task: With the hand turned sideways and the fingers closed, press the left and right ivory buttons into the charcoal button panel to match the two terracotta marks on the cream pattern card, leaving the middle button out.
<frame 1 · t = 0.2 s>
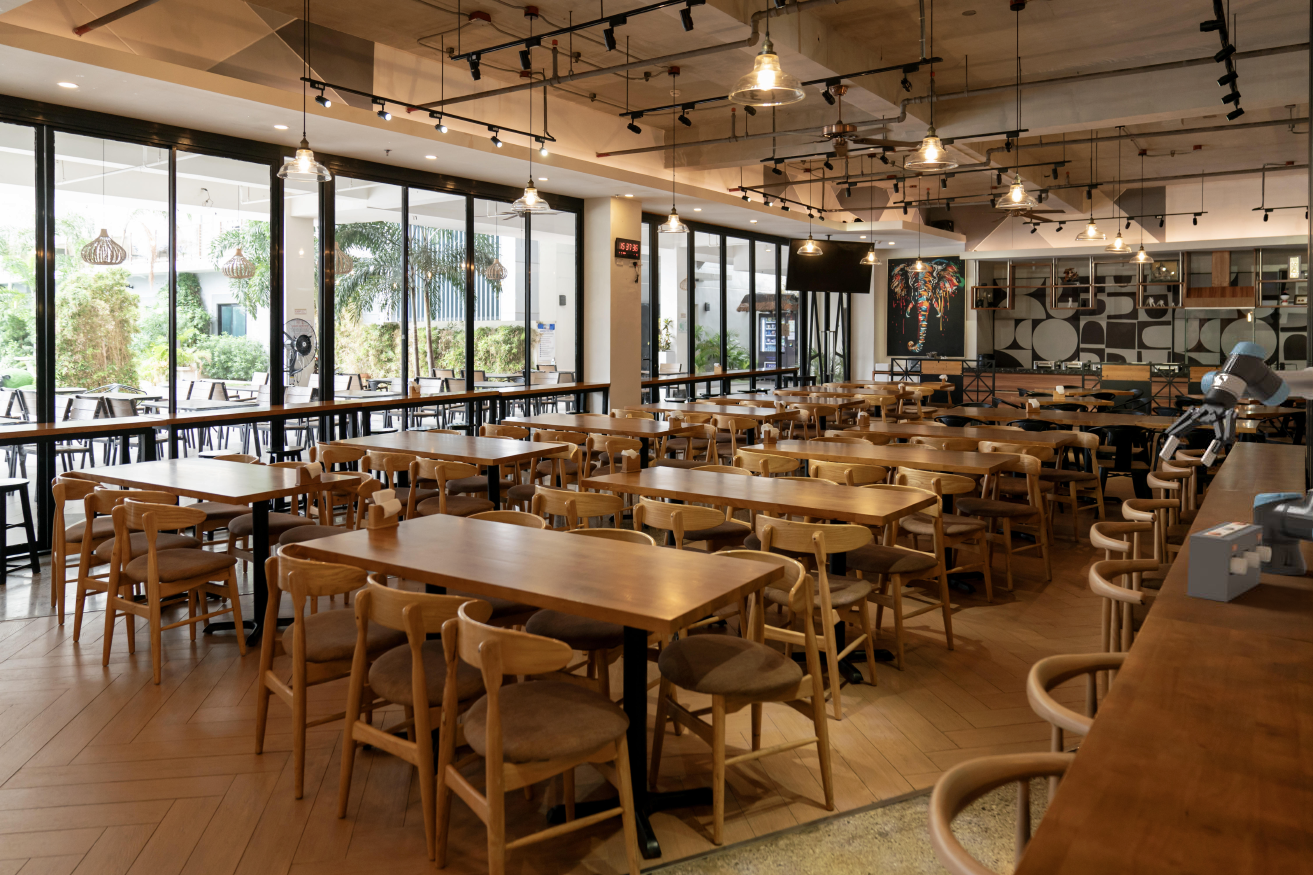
hand: (1183, 460, 238), 35 cm above the table, fingers open, 13 cm apart
button left: (1257, 553, 245), point 9 cm above the table, slide at 0.0 cm
button right: (1232, 564, 230), point 9 cm above the table, slide at 0.0 cm
button panel: (1235, 590, 240), on the table
button middle: (1245, 558, 238), point 9 cm above the table, slide at 0.0 cm
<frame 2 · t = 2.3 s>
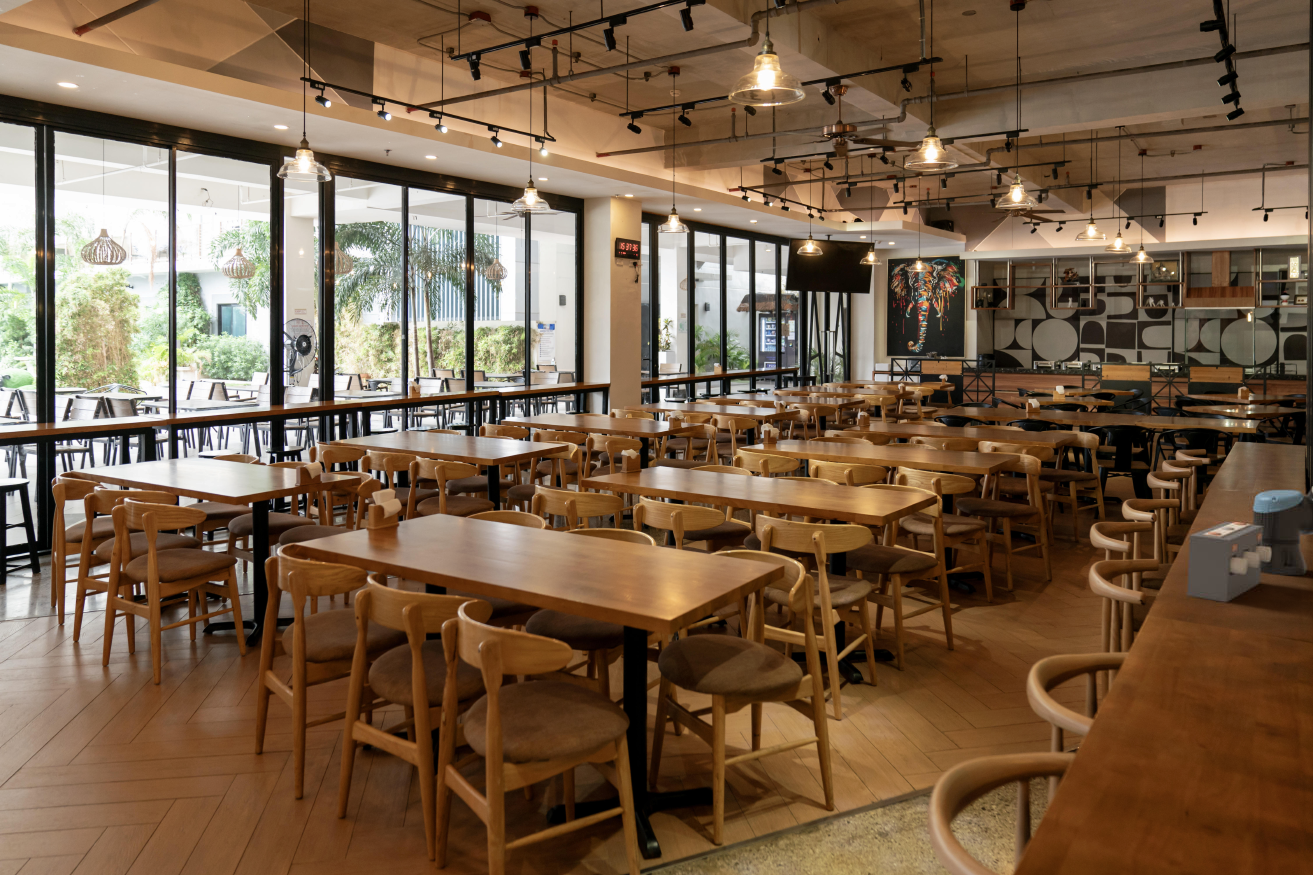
nothing on the table moved.
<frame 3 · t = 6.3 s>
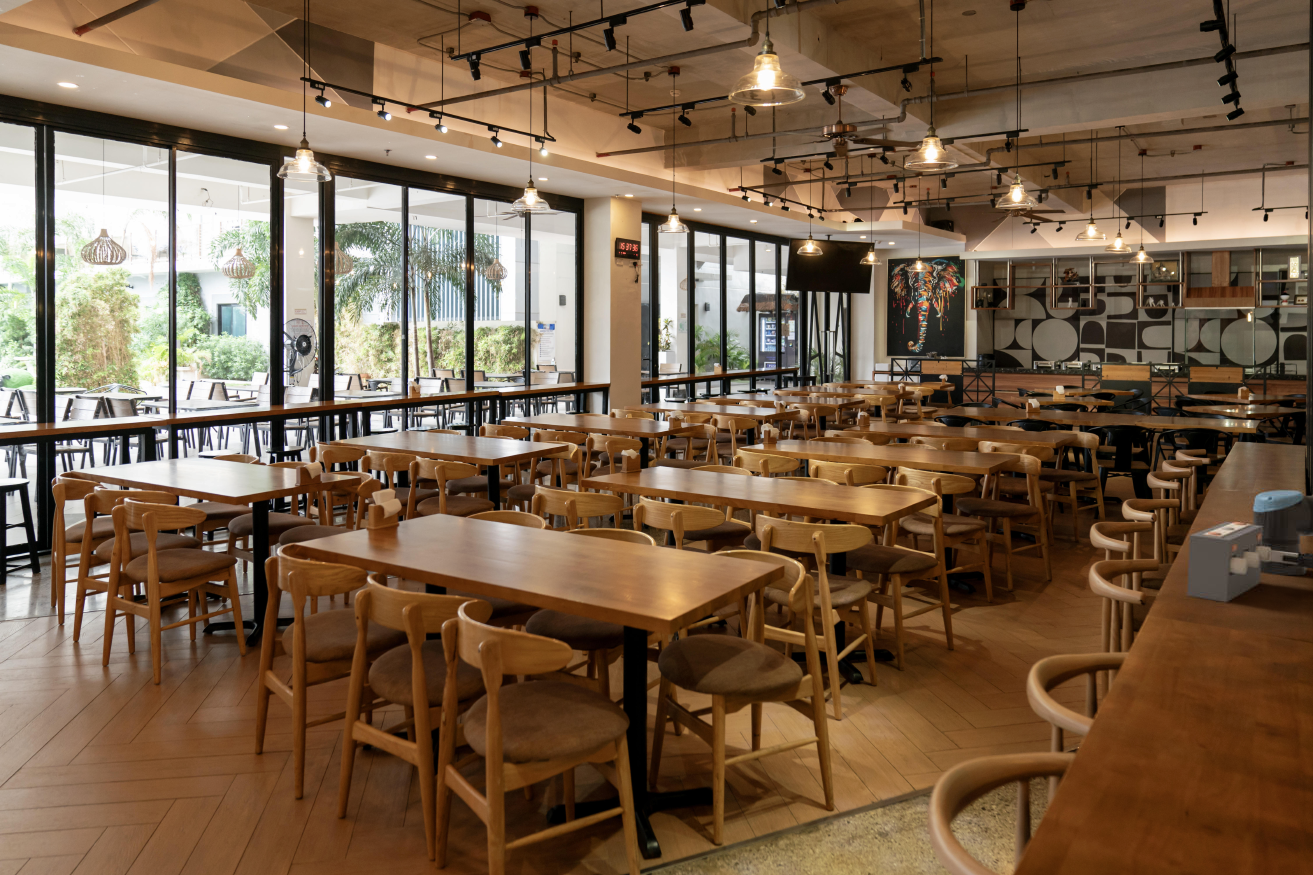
hand: (1269, 555, 243), 9 cm above the table, fingers closed
button left: (1257, 552, 245), point 9 cm above the table, slide at 0.1 cm, touching gripper
everything else where it was.
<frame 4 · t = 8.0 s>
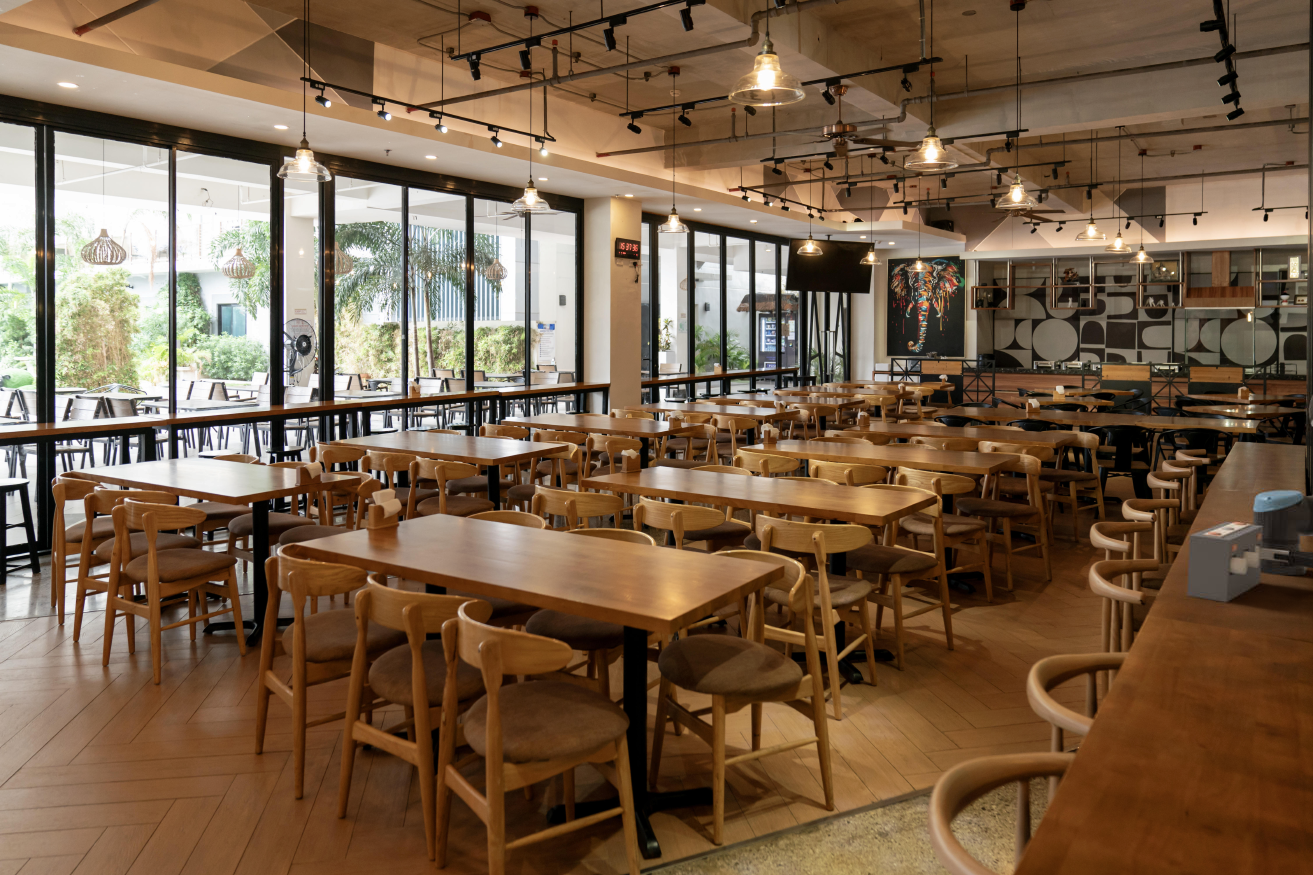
hand: (1261, 553, 244), 9 cm above the table, fingers closed
button left: (1246, 551, 247), point 9 cm above the table, slide at 2.6 cm
everything else where it was.
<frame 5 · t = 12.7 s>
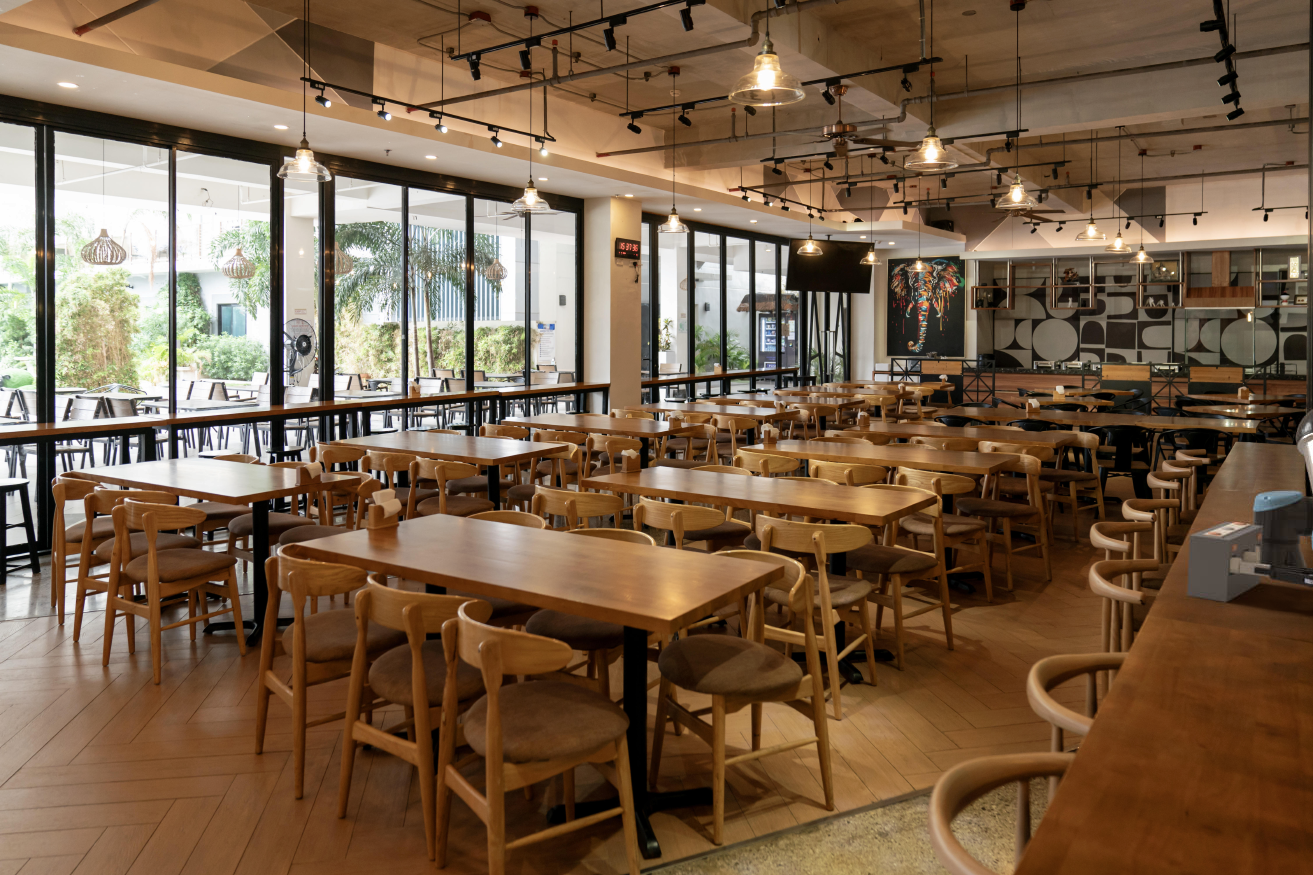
hand: (1240, 566, 229), 9 cm above the table, fingers closed
button right: (1227, 564, 231), point 9 cm above the table, slide at 1.1 cm, touching gripper
everything else where it was.
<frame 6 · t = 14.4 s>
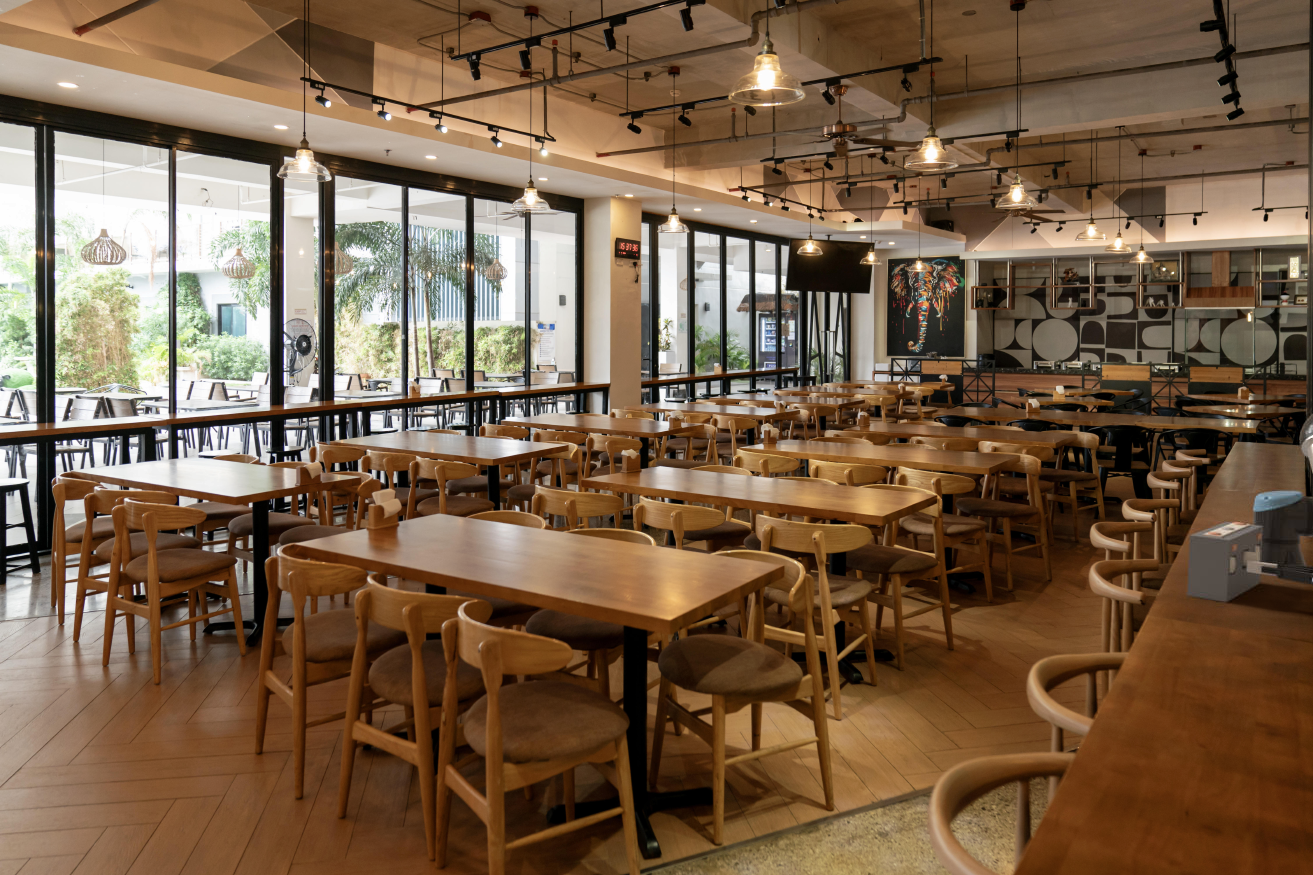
hand: (1247, 566, 228), 9 cm above the table, fingers closed
button right: (1221, 563, 232), point 9 cm above the table, slide at 2.6 cm
everything else where it was.
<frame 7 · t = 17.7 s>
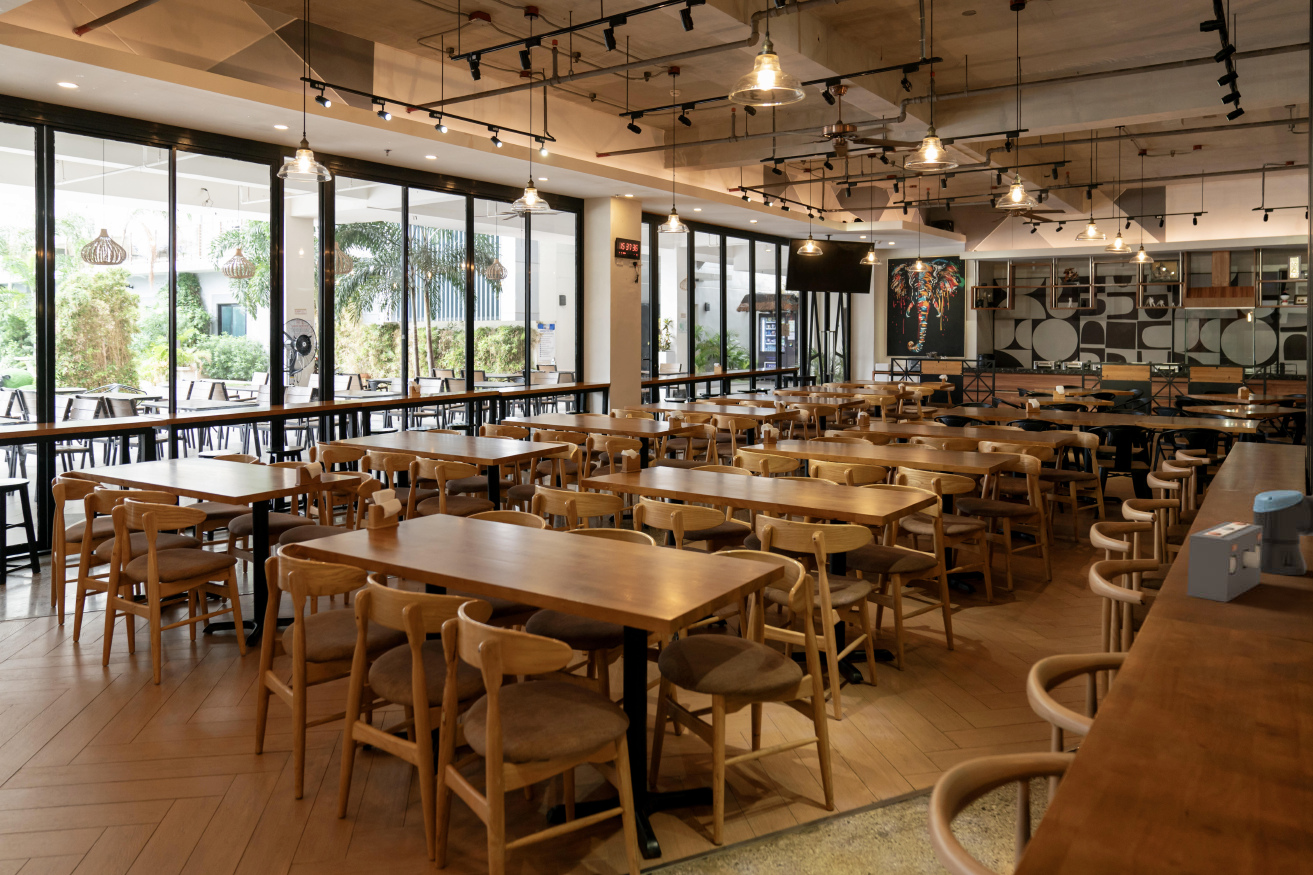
nothing on the table moved.
at the end: button left slide at 2.6 cm; button right slide at 2.6 cm; button middle slide at 0.0 cm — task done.
